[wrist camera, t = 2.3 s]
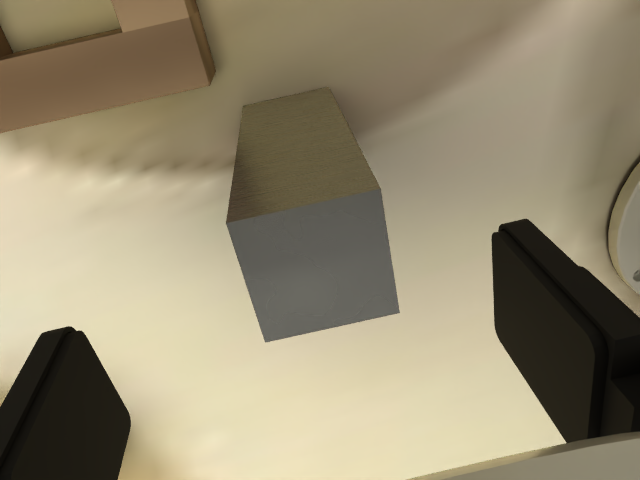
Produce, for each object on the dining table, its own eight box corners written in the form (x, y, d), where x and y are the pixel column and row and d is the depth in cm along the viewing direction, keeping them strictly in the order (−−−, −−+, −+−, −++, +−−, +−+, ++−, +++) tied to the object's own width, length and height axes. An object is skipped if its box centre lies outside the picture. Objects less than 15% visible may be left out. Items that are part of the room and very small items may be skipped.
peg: (343, 167, 25) (399, 312, 15) (264, 185, 25) (265, 342, 15) (328, 86, 23) (380, 188, 13) (243, 106, 23) (226, 223, 13)
